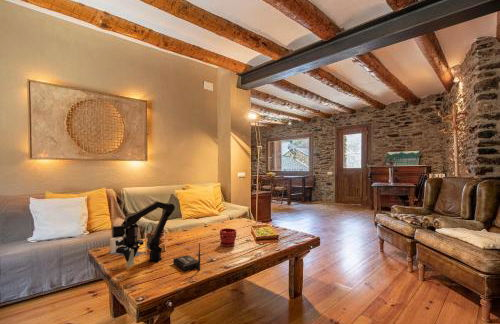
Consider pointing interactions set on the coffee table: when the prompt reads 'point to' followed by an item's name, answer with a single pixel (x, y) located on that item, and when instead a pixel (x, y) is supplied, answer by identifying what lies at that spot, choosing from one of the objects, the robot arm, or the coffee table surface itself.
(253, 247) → the coffee table surface
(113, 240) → the end domino
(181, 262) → the black wifi router
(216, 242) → the coffee table surface
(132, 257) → the sage domino
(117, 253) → the domino
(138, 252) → the mat
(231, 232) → the plant pot
